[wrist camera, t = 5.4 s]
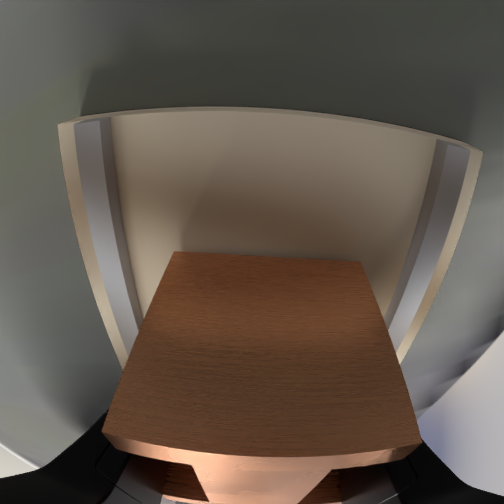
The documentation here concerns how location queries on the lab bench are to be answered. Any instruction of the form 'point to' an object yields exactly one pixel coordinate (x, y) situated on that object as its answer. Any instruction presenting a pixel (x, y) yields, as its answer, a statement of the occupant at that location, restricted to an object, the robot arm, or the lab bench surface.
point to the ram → (262, 380)
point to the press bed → (263, 201)
